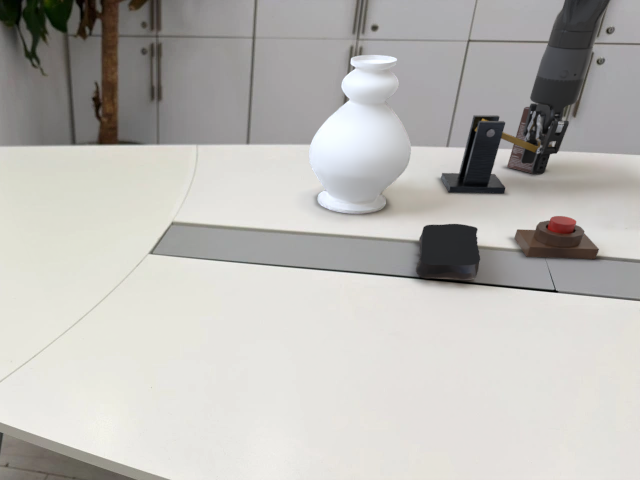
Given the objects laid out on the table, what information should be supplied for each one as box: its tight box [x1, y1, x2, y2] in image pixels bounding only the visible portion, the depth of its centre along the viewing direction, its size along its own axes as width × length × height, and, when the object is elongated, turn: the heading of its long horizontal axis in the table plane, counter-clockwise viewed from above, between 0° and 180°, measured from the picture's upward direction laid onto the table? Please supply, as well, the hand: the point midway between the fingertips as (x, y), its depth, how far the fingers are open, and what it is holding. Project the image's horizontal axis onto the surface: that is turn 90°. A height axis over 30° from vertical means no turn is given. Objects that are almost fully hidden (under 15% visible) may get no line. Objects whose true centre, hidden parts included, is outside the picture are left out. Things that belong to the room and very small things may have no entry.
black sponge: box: [415, 223, 481, 281], centre depth 105 cm, size 16×8×4 cm, turn 159°
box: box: [507, 106, 549, 174], centre depth 136 cm, size 6×4×12 cm
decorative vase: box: [308, 54, 412, 215], centre depth 122 cm, size 18×18×25 cm
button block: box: [514, 220, 600, 260], centre depth 108 cm, size 10×7×4 cm
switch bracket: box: [440, 114, 506, 195], centre depth 129 cm, size 10×8×13 cm
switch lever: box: [475, 119, 538, 154], centre depth 127 cm, size 13×5×2 cm, turn 81°
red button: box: [547, 215, 577, 234], centre depth 107 cm, size 4×4×2 cm
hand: (531, 167), depth 129 cm, fingers open, 6 cm apart
